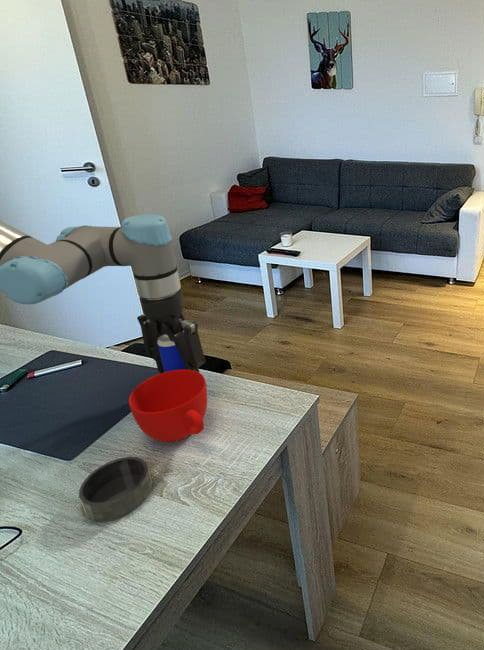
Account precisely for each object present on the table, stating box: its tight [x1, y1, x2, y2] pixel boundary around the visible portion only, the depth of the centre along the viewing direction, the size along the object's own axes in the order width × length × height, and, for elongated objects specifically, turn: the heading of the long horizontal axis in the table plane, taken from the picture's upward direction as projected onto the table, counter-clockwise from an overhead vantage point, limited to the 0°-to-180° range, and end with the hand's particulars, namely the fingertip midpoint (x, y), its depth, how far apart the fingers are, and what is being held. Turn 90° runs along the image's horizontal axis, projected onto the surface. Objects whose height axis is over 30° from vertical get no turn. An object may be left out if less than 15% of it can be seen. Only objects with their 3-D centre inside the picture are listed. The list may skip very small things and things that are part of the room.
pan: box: [78, 456, 153, 523], centre depth 71 cm, size 9×9×4 cm
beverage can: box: [157, 332, 186, 372], centre depth 93 cm, size 5×5×15 cm
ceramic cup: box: [128, 369, 208, 443], centre depth 82 cm, size 13×17×10 cm
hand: (181, 387), depth 95 cm, fingers open, 6 cm apart
